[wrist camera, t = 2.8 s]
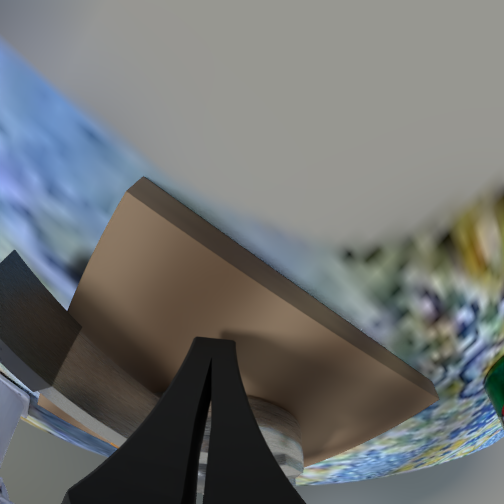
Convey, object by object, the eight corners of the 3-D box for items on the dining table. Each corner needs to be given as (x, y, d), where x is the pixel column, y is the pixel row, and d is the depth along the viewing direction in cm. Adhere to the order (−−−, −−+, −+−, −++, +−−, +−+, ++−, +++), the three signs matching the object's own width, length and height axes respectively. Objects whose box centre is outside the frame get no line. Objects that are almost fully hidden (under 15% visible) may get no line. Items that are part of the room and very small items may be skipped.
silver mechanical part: (324, 442, 16) (330, 489, 13) (200, 465, 18) (196, 503, 15) (79, 180, 7) (2, 236, 4) (-18, 296, 10) (-54, 342, 7)
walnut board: (44, 389, 17) (36, 405, 16) (143, 176, 9) (123, 193, 8) (243, 472, 23) (242, 487, 22) (432, 381, 15) (440, 401, 14)
